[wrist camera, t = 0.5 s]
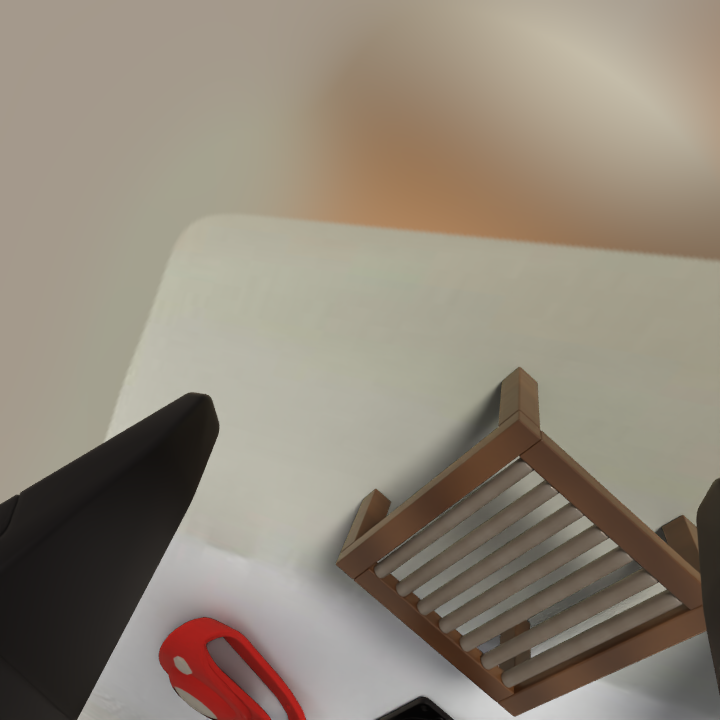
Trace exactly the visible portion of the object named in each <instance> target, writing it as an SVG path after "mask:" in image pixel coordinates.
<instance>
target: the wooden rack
mask: <svg viewBox="0 0 720 720" xmlns="http://www.w3.org/2000/svg"><path fill="white" fill-rule="evenodd" d="M498 426H499V427H498V428H496V429H495V430H494V431H493V432H491V433H490V434H489V435H488V436H486V437H485V438H484V439H483V440H481V441H480V442H479V443H478V444H476V445H475V446H474V447H473V448H471V449H470V450H469V451H468V452H466V453H465V454H464V455H463V456H461V457H460V458H459V459H458V460H456V461H455V462H454V463H453V464H451V465H450V466H449V467H448V468H446V469H445V470H444V471H443V472H441V473H440V474H439V475H438V476H436V477H435V478H434V479H433V480H431V481H430V482H429V483H428V484H426V485H425V486H424V487H423V488H421V489H420V490H419V491H418V492H416V493H415V494H414V495H413V496H411V497H410V498H409V499H408V500H406V501H405V502H404V503H403V504H401V505H400V506H399V507H398V508H396V509H395V510H394V511H393V512H391V513H390V514H389V515H388V516H387V513H388V510H389V507H390V504H391V501H389V500H388V499H387V498H386V497H385V496H384V495H383V494H381V493H380V492H379V491H378V490H377V489H375V490H374V491H372V492H371V493H370V494H369V495H368V496H367V497H365V498H364V499H363V501H362V503H361V506H360V508H359V510H358V513H357V515H356V517H355V520H354V522H353V524H352V527H351V529H350V532H349V534H348V536H347V539H346V541H345V543H344V546H343V548H342V550H341V553H340V555H339V557H338V560H337V562H336V565H337V566H338V567H339V568H340V569H341V570H343V571H344V572H345V573H346V574H347V575H348V576H350V577H351V578H352V579H354V581H355V582H356V583H358V584H359V585H360V586H361V587H362V588H363V589H365V590H366V591H367V592H368V593H369V594H371V595H372V596H373V597H374V598H375V599H376V600H378V601H379V602H380V603H381V604H382V605H383V606H385V607H386V608H387V609H388V610H389V611H390V612H392V613H393V614H394V615H395V616H396V617H397V618H399V619H400V620H401V621H402V622H403V623H404V624H406V625H407V626H408V627H409V628H410V629H411V630H413V631H414V632H415V633H416V634H417V635H419V636H420V637H421V638H422V639H423V640H424V641H426V642H427V643H428V644H429V645H430V646H431V647H433V648H434V649H435V650H436V651H437V652H438V653H440V654H441V655H442V656H443V657H444V658H445V659H447V660H448V661H449V662H450V663H451V664H452V665H454V666H455V667H456V668H457V669H458V670H459V671H461V672H462V673H463V674H464V675H465V676H467V677H468V678H469V679H470V680H471V681H472V682H474V683H475V684H476V685H477V686H478V687H479V688H481V689H482V690H483V691H484V692H485V693H486V694H488V695H489V696H490V697H491V698H492V699H493V700H495V701H496V702H498V704H500V705H501V706H502V707H503V708H504V709H505V710H507V711H508V712H509V713H510V714H511V715H512V716H517V715H520V714H522V713H524V712H526V711H529V710H531V709H533V708H535V707H538V706H540V705H542V704H544V703H546V702H549V701H551V700H553V699H555V698H558V697H560V696H562V695H564V694H567V693H569V692H571V691H573V690H576V689H578V688H580V687H582V686H584V685H587V684H589V683H591V682H593V681H596V680H598V679H600V678H602V677H605V676H607V675H609V674H611V673H614V672H616V671H618V670H620V669H622V668H625V667H627V666H629V665H631V664H634V663H636V662H638V661H640V660H643V659H645V658H647V657H649V656H652V655H654V654H656V653H658V652H660V651H663V650H665V649H667V648H669V647H672V646H674V645H676V644H678V643H681V642H683V641H685V640H687V639H690V638H692V637H694V636H696V635H698V634H701V633H703V632H705V631H707V629H706V623H705V617H704V611H703V602H702V590H701V576H700V563H699V549H698V536H697V527H696V526H695V525H694V524H693V523H691V522H690V521H689V520H688V519H687V518H686V517H685V516H684V515H682V516H680V517H678V518H677V519H675V520H673V521H671V522H670V523H668V524H666V525H664V526H663V527H662V529H663V532H664V535H665V538H666V541H667V543H668V544H667V543H665V542H664V541H663V540H662V539H661V538H660V537H659V536H658V535H657V534H655V533H654V532H653V531H652V530H651V529H650V528H649V527H648V526H647V525H646V524H644V523H643V522H642V521H641V520H640V519H639V518H638V517H637V516H636V515H634V514H633V513H632V512H631V511H630V510H629V509H628V508H627V507H626V506H625V505H623V504H622V503H621V502H620V501H619V500H618V499H617V498H616V497H615V496H613V495H612V494H611V493H610V492H609V491H608V490H607V489H606V488H605V487H603V486H602V485H601V484H600V483H599V482H598V481H597V480H596V479H595V478H594V477H592V476H591V475H590V474H589V473H588V472H587V471H586V470H585V469H584V468H582V467H581V466H580V465H579V464H578V463H577V462H576V461H575V460H574V459H573V458H571V457H570V456H569V455H568V454H567V453H566V452H565V451H564V450H563V449H561V448H560V447H559V446H558V445H557V444H556V443H555V442H554V441H553V440H551V439H550V438H549V437H548V436H547V435H546V434H545V433H544V432H543V431H540V419H539V402H538V385H537V382H536V381H535V380H534V379H533V378H532V377H531V376H530V375H529V374H527V373H526V372H525V371H524V370H523V369H522V368H521V367H519V368H517V369H516V370H515V371H514V372H513V373H511V374H510V375H509V376H508V377H507V378H506V379H504V380H503V381H502V386H501V398H500V410H499V423H498ZM518 456H520V458H519V459H517V460H516V461H515V462H513V463H512V464H511V465H509V466H508V467H507V468H505V469H504V470H503V471H501V472H500V473H499V474H497V475H496V476H495V477H493V478H492V479H491V480H489V481H488V482H487V483H485V484H484V485H483V486H481V487H480V488H478V489H477V490H476V491H474V492H473V493H472V494H470V495H469V496H468V497H466V498H465V499H464V500H462V501H461V502H460V503H458V504H457V505H456V506H454V507H453V508H452V509H450V510H449V511H448V512H446V513H445V514H444V515H442V516H441V517H440V518H438V519H437V520H436V521H434V522H433V523H431V524H430V525H429V526H427V527H426V528H425V529H423V530H422V531H421V532H419V533H418V534H417V535H415V536H414V537H413V538H411V539H410V540H409V541H407V542H406V543H405V544H403V545H402V546H401V547H399V548H398V549H397V550H395V551H394V552H393V553H391V554H390V555H389V556H387V557H386V558H384V559H383V560H382V561H380V562H379V563H378V562H377V561H379V560H380V559H381V558H383V557H384V556H385V555H387V554H388V553H389V552H391V551H392V550H393V549H395V548H396V547H397V546H399V545H400V544H401V543H403V542H404V541H405V540H407V539H408V538H409V537H411V536H412V535H413V534H415V533H416V532H417V531H419V530H420V529H422V528H423V527H424V526H426V525H427V524H428V523H430V522H431V521H432V520H434V519H435V518H436V517H438V516H439V515H440V514H442V513H443V512H444V511H446V510H447V509H448V508H450V507H451V506H452V505H454V504H455V503H456V502H458V501H459V500H460V499H462V498H463V497H464V496H466V495H467V494H468V493H470V492H471V491H472V490H474V489H475V488H476V487H478V486H479V485H480V484H482V483H483V482H484V481H486V480H487V479H488V478H490V477H491V476H492V475H494V474H495V473H496V472H498V471H499V470H500V469H502V468H503V467H504V466H506V465H507V464H508V463H510V462H511V461H512V460H514V459H515V458H516V457H518ZM533 470H535V471H536V472H537V473H538V474H539V475H540V476H541V477H542V478H544V479H545V480H544V481H543V482H541V483H540V484H539V485H537V486H536V487H534V488H533V489H531V490H530V491H529V492H527V493H526V494H524V495H523V496H521V497H520V498H519V499H517V500H516V501H514V502H513V503H511V504H510V505H509V506H507V507H506V508H504V509H503V510H501V511H500V512H499V513H497V514H496V515H494V516H493V517H491V518H490V519H489V520H487V521H486V522H484V523H483V524H481V525H480V526H479V527H477V528H476V529H474V530H473V531H471V532H470V533H468V534H467V535H466V536H464V537H463V538H461V539H460V540H458V541H457V542H456V543H454V544H453V545H451V546H450V547H448V548H447V549H446V550H444V551H443V552H441V553H440V554H438V555H437V556H436V557H434V558H433V559H431V560H430V561H428V562H427V563H426V564H424V565H423V566H421V567H420V568H418V569H417V570H416V571H414V572H413V573H411V574H410V575H408V576H407V577H405V578H404V579H403V580H401V581H399V580H397V579H396V578H395V577H394V576H393V575H392V574H390V573H391V572H393V571H394V570H396V569H397V568H398V567H400V566H401V565H403V564H404V563H405V562H407V561H408V560H410V559H411V558H412V557H414V556H415V555H417V554H418V553H419V552H421V551H422V550H423V549H425V548H426V547H428V546H429V545H430V544H432V543H433V542H435V541H436V540H437V539H439V538H440V537H442V536H443V535H444V534H446V533H447V532H449V531H450V530H451V529H453V528H454V527H456V526H457V525H458V524H460V523H461V522H462V521H464V520H465V519H467V518H468V517H469V516H471V515H472V514H474V513H475V512H476V511H478V510H479V509H481V508H482V507H483V506H485V505H486V504H488V503H489V502H490V501H492V500H493V499H494V498H496V497H497V496H499V495H500V494H501V493H503V492H504V491H506V490H507V489H508V488H510V487H511V486H513V485H514V484H515V483H517V482H518V481H520V480H521V479H522V478H524V477H525V476H526V475H528V474H529V473H531V472H532V471H533ZM558 493H560V494H561V495H563V496H564V497H565V498H566V499H567V500H568V501H569V502H570V503H568V504H566V505H565V506H563V507H562V508H560V509H559V510H557V511H556V512H554V513H553V514H551V515H550V516H548V517H547V518H545V519H544V520H542V521H541V522H539V523H537V524H536V525H534V526H533V527H531V528H530V529H528V530H527V531H525V532H524V533H522V534H521V535H519V536H518V537H516V538H515V539H513V540H512V541H510V542H508V543H507V544H505V545H504V546H502V547H501V548H499V549H498V550H496V551H495V552H493V553H492V554H490V555H489V556H487V557H486V558H484V559H483V560H481V561H479V562H478V563H476V564H475V565H473V566H472V567H470V568H469V569H467V570H466V571H464V572H463V573H461V574H460V575H458V576H457V577H455V578H454V579H452V580H450V581H449V582H447V583H446V584H444V585H443V586H441V587H440V588H438V589H437V590H435V591H434V592H432V593H431V594H429V595H428V596H426V597H425V598H423V599H420V598H418V597H417V596H416V595H415V594H414V593H413V591H414V590H416V589H417V588H419V587H420V586H422V585H423V584H425V583H426V582H428V581H429V580H431V579H432V578H434V577H435V576H437V575H438V574H440V573H441V572H442V571H444V570H445V569H447V568H448V567H450V566H451V565H453V564H454V563H456V562H457V561H459V560H460V559H462V558H463V557H465V556H466V555H468V554H469V553H471V552H472V551H474V550H475V549H477V548H478V547H480V546H481V545H483V544H484V543H486V542H487V541H489V540H490V539H492V538H493V537H494V536H496V535H497V534H499V533H500V532H502V531H503V530H505V529H506V528H508V527H509V526H511V525H512V524H514V523H515V522H517V521H518V520H520V519H521V518H523V517H524V516H526V515H527V514H529V513H530V512H532V511H533V510H535V509H536V508H538V507H539V506H541V505H542V504H543V503H545V502H546V501H548V500H549V499H551V498H552V497H554V496H555V495H557V494H558ZM584 515H585V516H586V517H587V518H588V519H589V520H590V521H592V522H593V523H594V525H593V526H591V527H589V528H588V529H586V530H584V531H583V532H581V533H580V534H578V535H576V536H575V537H573V538H571V539H570V540H568V541H567V542H565V543H563V544H562V545H560V546H558V547H557V548H555V549H554V550H552V551H550V552H549V553H547V554H545V555H544V556H542V557H540V558H539V559H537V560H536V561H534V562H532V563H531V564H529V565H527V566H526V567H524V568H523V569H521V570H519V571H518V572H516V573H514V574H513V575H511V576H510V577H508V578H506V579H505V580H503V581H501V582H500V583H498V584H497V585H495V586H493V587H492V588H490V589H488V590H487V591H485V592H484V593H482V594H480V595H479V596H477V597H475V598H474V599H472V600H471V601H469V602H467V603H466V604H464V605H462V606H461V607H459V608H458V609H456V610H454V611H453V612H451V613H449V614H448V615H446V616H444V617H443V618H442V617H440V616H439V615H438V614H437V613H436V612H435V611H434V610H435V609H437V608H438V607H440V606H442V605H443V604H445V603H446V602H448V601H450V600H451V599H453V598H454V597H456V596H457V595H459V594H461V593H462V592H464V591H465V590H467V589H469V588H470V587H472V586H473V585H475V584H476V583H478V582H480V581H481V580H483V579H484V578H486V577H488V576H489V575H491V574H492V573H494V572H496V571H497V570H499V569H500V568H502V567H503V566H505V565H507V564H508V563H510V562H511V561H513V560H515V559H516V558H518V557H519V556H521V555H522V554H524V553H526V552H527V551H529V550H530V549H532V548H534V547H535V546H537V545H538V544H540V543H541V542H543V541H545V540H546V539H548V538H549V537H551V536H553V535H554V534H556V533H557V532H559V531H561V530H562V529H564V528H565V527H567V526H568V525H570V524H572V523H573V522H575V521H576V520H578V519H580V518H581V517H583V516H584ZM608 538H611V539H612V540H613V541H614V542H615V543H616V544H617V545H618V547H617V548H615V549H613V550H611V551H610V552H608V553H606V554H604V555H603V556H601V557H599V558H597V559H596V560H594V561H592V562H591V563H589V564H587V565H585V566H584V567H582V568H580V569H578V570H577V571H575V572H573V573H571V574H570V575H568V576H566V577H565V578H563V579H561V580H559V581H558V582H556V583H554V584H552V585H551V586H549V587H547V588H545V589H544V590H542V591H540V592H538V593H537V594H535V595H533V596H532V597H530V598H528V599H526V600H525V601H523V602H521V603H519V604H518V605H516V606H514V607H512V608H511V609H509V610H507V611H505V612H504V613H502V614H500V615H499V616H497V617H495V618H493V619H492V620H490V621H488V622H486V623H485V624H483V625H481V626H479V627H478V628H476V629H474V630H473V631H471V632H469V633H467V634H466V635H464V636H463V635H461V634H460V633H459V632H458V631H457V630H456V628H458V627H459V626H461V625H463V624H464V623H466V622H468V621H469V620H471V619H473V618H475V617H476V616H478V615H480V614H481V613H483V612H485V611H486V610H488V609H490V608H491V607H493V606H495V605H497V604H498V603H500V602H502V601H503V600H505V599H507V598H508V597H510V596H512V595H513V594H515V593H517V592H519V591H520V590H522V589H524V588H525V587H527V586H529V585H530V584H532V583H534V582H535V581H537V580H539V579H541V578H542V577H544V576H546V575H547V574H549V573H551V572H552V571H554V570H556V569H557V568H559V567H561V566H563V565H564V564H566V563H568V562H569V561H571V560H573V559H574V558H576V557H578V556H579V555H581V554H583V553H585V552H586V551H588V550H590V549H591V548H593V547H595V546H596V545H598V544H600V543H601V542H603V541H605V540H607V539H608ZM633 560H635V561H636V562H637V563H638V564H640V565H641V566H642V567H643V568H642V569H640V570H638V571H636V572H634V573H633V574H631V575H629V576H627V577H625V578H623V579H621V580H620V581H618V582H616V583H614V584H612V585H610V586H609V587H607V588H605V589H603V590H601V591H599V592H597V593H596V594H594V595H592V596H590V597H588V598H586V599H584V600H583V601H581V602H579V603H577V604H575V605H573V606H572V607H570V608H568V609H566V610H564V611H562V612H560V613H559V614H557V615H555V616H553V617H551V618H549V619H547V620H546V621H544V622H542V623H540V624H538V625H536V626H534V627H533V628H531V629H530V623H529V622H528V621H527V619H528V618H530V617H532V616H534V615H536V614H538V613H539V612H541V611H543V610H545V609H547V608H548V607H550V606H552V605H554V604H556V603H557V602H559V601H561V600H563V599H565V598H566V597H568V596H570V595H572V594H574V593H576V592H577V591H579V590H581V589H583V588H585V587H586V586H588V585H590V584H592V583H594V582H595V581H597V580H599V579H601V578H603V577H604V576H606V575H608V574H610V573H612V572H613V571H615V570H617V569H619V568H621V567H623V566H624V565H626V564H628V563H630V562H632V561H633ZM658 582H660V583H661V584H662V585H663V586H664V587H665V588H666V589H667V590H665V591H663V592H661V593H659V594H657V595H655V596H653V597H651V598H649V599H647V600H645V601H643V602H641V603H639V604H637V605H635V606H633V607H631V608H629V609H627V610H625V611H623V612H621V613H619V614H617V615H615V616H613V617H611V618H609V619H607V620H606V621H604V622H602V623H600V624H598V625H596V626H594V627H592V628H590V629H588V630H586V631H584V632H582V633H580V634H578V635H576V636H574V637H572V638H570V639H568V640H566V641H564V642H562V643H560V644H558V645H556V646H554V647H552V648H550V649H548V650H546V651H544V652H542V653H540V654H538V655H536V656H534V657H532V658H531V648H532V647H534V646H536V645H538V644H540V643H542V642H544V641H546V640H548V639H550V638H552V637H554V636H556V635H558V634H559V633H561V632H563V631H565V630H567V629H569V628H571V627H573V626H575V625H577V624H579V623H581V622H583V621H585V620H587V619H588V618H590V617H592V616H594V615H596V614H598V613H600V612H602V611H604V610H606V609H608V608H610V607H612V606H614V605H616V604H617V603H619V602H621V601H623V600H625V599H627V598H629V597H631V596H633V595H635V594H637V593H639V592H641V591H643V590H644V589H646V588H648V587H650V586H652V585H654V584H656V583H658ZM498 635H500V645H499V646H497V647H496V648H494V649H492V650H490V651H488V652H486V653H484V654H483V653H482V652H481V651H480V650H479V649H478V648H476V647H478V646H480V645H481V644H483V643H485V642H487V641H489V640H491V639H492V638H494V637H496V636H498ZM498 665H499V666H498Z"/></svg>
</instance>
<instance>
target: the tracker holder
mask: <svg viewBox="0 0 720 720" xmlns="http://www.w3.org/2000/svg"><path fill="white" fill-rule="evenodd" d="M219 637H224V639H225V640H226V641H227V642H228V643H229V644H230V645H231V646H232V647H233V649H234V650H235V651H236V652H237V653H238V654H239V655H240V656H241V657H242V659H243V660H244V661H245V662H246V663H247V664H248V665H249V666H250V668H251V669H252V670H253V671H254V672H255V673H256V674H257V675H258V676H259V678H260V679H261V680H262V681H263V682H264V683H265V684H266V685H267V687H268V688H269V689H270V690H271V691H272V692H273V693H274V695H275V696H276V697H277V698H278V700H279V701H280V703H281V705H282V706H283V708H284V710H285V711H286V713H287V715H288V720H306V718H305V715H304V712H303V710H302V708H301V706H300V705H299V703H298V701H297V700H296V698H295V697H294V695H293V693H292V692H291V691H290V689H289V688H288V687H287V685H286V684H285V683H284V681H283V680H282V679H281V678H280V677H279V675H278V674H277V673H276V672H275V671H274V670H273V668H272V667H271V666H270V665H269V664H268V663H267V662H266V660H265V659H264V658H263V657H262V656H261V655H260V653H259V652H258V651H257V650H256V649H255V648H254V647H253V645H252V644H251V643H250V642H249V641H248V640H247V638H246V637H245V636H244V635H242V634H241V633H240V632H238V631H236V630H234V629H232V628H230V627H228V626H227V625H225V624H223V623H221V622H219V621H217V620H214V619H211V618H206V617H203V618H198V619H194V620H191V621H188V622H186V623H184V624H183V625H181V626H180V627H178V628H177V629H175V630H174V631H173V632H172V633H171V634H169V635H168V637H167V638H166V639H165V641H164V642H163V644H162V646H161V648H160V651H159V661H160V664H161V666H162V667H163V669H164V670H165V671H166V672H167V674H168V675H169V679H170V682H171V685H172V687H173V688H174V690H175V692H176V693H177V694H178V695H179V696H180V697H181V698H182V699H183V700H184V701H185V702H186V703H187V704H188V705H189V706H191V707H192V708H193V709H195V710H196V711H198V712H200V713H201V714H203V715H204V716H206V717H208V718H210V719H212V720H271V718H270V717H269V716H268V714H267V713H266V712H265V711H264V710H263V709H262V708H261V707H260V706H259V705H258V704H257V703H256V702H255V701H254V700H253V699H252V698H251V697H250V696H249V695H248V694H246V693H245V692H244V691H243V690H242V689H241V688H240V687H239V686H238V685H237V684H236V683H235V682H233V681H232V680H231V679H230V678H229V677H228V676H227V675H226V674H225V673H224V672H223V671H222V670H221V669H220V668H219V667H218V666H217V665H216V663H215V662H214V661H213V659H212V658H211V656H210V654H209V652H208V650H207V647H206V644H207V643H208V642H210V641H212V640H214V639H216V638H219Z"/></svg>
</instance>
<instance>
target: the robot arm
mask: <svg viewBox="0 0 720 720" xmlns="http://www.w3.org/2000/svg"><path fill="white" fill-rule="evenodd" d="M218 433H219V421H218V418H217V414H216V411H215V408H214V405H213V401H212V399H211V397H210V396H209V395H207V394H200V393H194V392H190V393H187V394H185V395H184V396H182V397H180V398H179V399H177V400H175V401H174V402H172V403H170V404H168V405H167V406H165V407H163V408H162V409H160V410H158V411H157V412H155V413H153V414H152V415H150V416H148V417H147V418H145V419H143V420H142V421H140V422H138V423H136V424H135V425H133V426H131V427H130V428H128V429H126V430H125V431H123V432H121V433H120V434H118V435H116V436H115V437H113V438H111V439H110V440H108V441H106V442H105V443H103V444H101V445H99V446H98V447H96V448H95V449H93V450H91V451H90V452H88V453H86V454H84V455H83V456H81V457H79V458H78V459H76V460H74V461H73V462H71V463H69V464H68V465H66V466H64V467H62V468H61V469H59V470H58V471H56V472H54V473H52V474H51V475H49V476H47V477H46V478H44V479H42V480H41V481H39V482H37V483H35V484H34V485H32V486H30V487H29V488H27V489H25V490H24V491H22V492H21V493H20V495H15V496H14V497H12V498H10V499H8V500H7V501H5V502H3V503H2V504H0V720H77V719H78V717H79V715H80V713H81V711H82V709H83V707H84V706H85V704H86V702H87V700H88V698H89V696H90V694H91V692H92V690H93V688H94V687H95V685H96V683H97V681H98V679H99V677H100V675H101V673H102V671H103V669H104V668H105V666H106V664H107V662H108V660H109V658H110V656H111V654H112V652H113V650H114V648H115V647H116V645H117V643H118V641H119V639H120V637H121V635H122V633H123V631H124V629H125V628H126V626H127V624H128V622H129V620H130V618H131V616H132V614H133V612H134V610H135V609H136V607H137V605H138V603H139V601H140V599H141V597H142V595H143V593H144V591H145V589H146V588H147V586H148V584H149V582H150V580H151V578H152V576H153V574H154V572H155V570H156V569H157V567H158V565H159V563H160V561H161V559H162V557H163V555H164V553H165V551H166V550H167V548H168V546H169V544H170V542H171V540H172V538H173V536H174V534H175V532H176V531H177V529H178V527H179V525H180V523H181V521H182V519H183V517H184V515H185V513H186V511H187V509H188V507H189V505H190V503H191V501H192V499H193V497H194V495H195V492H196V490H197V487H198V485H199V482H200V480H201V477H202V475H203V472H204V470H205V467H206V465H207V462H208V459H209V457H210V454H211V452H212V449H213V447H214V444H215V442H216V439H217V437H218ZM697 536H698V549H699V563H700V576H701V590H702V602H703V611H704V617H705V623H706V629H707V634H708V638H709V643H710V648H711V653H712V658H713V663H714V668H715V673H716V678H717V683H718V688H719V693H720V478H718V479H716V480H715V481H714V482H713V484H712V485H711V487H710V489H709V491H708V492H707V494H706V496H705V497H704V499H703V501H702V503H701V504H700V506H699V508H698V512H697ZM379 720H454V719H452V718H451V717H450V716H449V715H448V714H447V713H445V712H444V711H443V710H442V709H441V708H439V707H438V706H437V705H436V704H435V703H434V702H432V701H431V700H430V699H428V698H426V697H421V698H419V699H417V700H415V701H413V702H411V703H409V704H407V705H405V706H403V707H402V708H400V709H398V710H396V711H394V712H392V713H390V714H388V715H386V716H385V717H383V718H381V719H379Z"/></svg>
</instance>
